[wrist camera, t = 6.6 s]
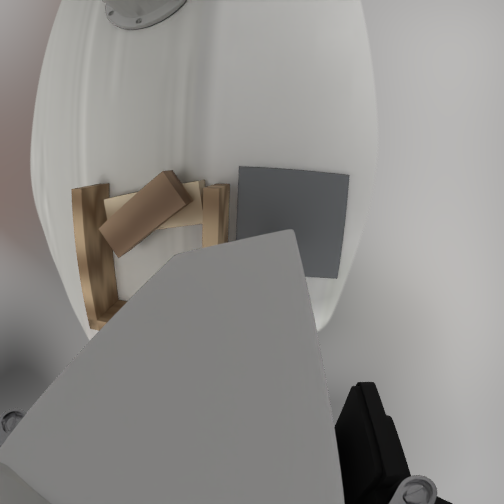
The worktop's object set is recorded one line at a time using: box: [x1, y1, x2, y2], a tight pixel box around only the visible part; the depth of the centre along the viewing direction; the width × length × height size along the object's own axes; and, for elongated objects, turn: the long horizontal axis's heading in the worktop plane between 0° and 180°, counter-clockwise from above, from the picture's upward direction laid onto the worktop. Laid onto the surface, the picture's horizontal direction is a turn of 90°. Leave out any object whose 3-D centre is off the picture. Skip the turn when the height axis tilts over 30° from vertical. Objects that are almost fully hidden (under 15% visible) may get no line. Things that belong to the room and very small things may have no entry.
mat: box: [236, 166, 349, 279], centre depth 32 cm, size 12×12×1 cm
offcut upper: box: [99, 170, 193, 258], centre depth 29 cm, size 4×10×3 cm, turn 124°
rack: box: [72, 184, 230, 331], centre depth 32 cm, size 18×17×6 cm
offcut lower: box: [104, 180, 205, 230], centre depth 32 cm, size 4×12×3 cm, turn 97°
